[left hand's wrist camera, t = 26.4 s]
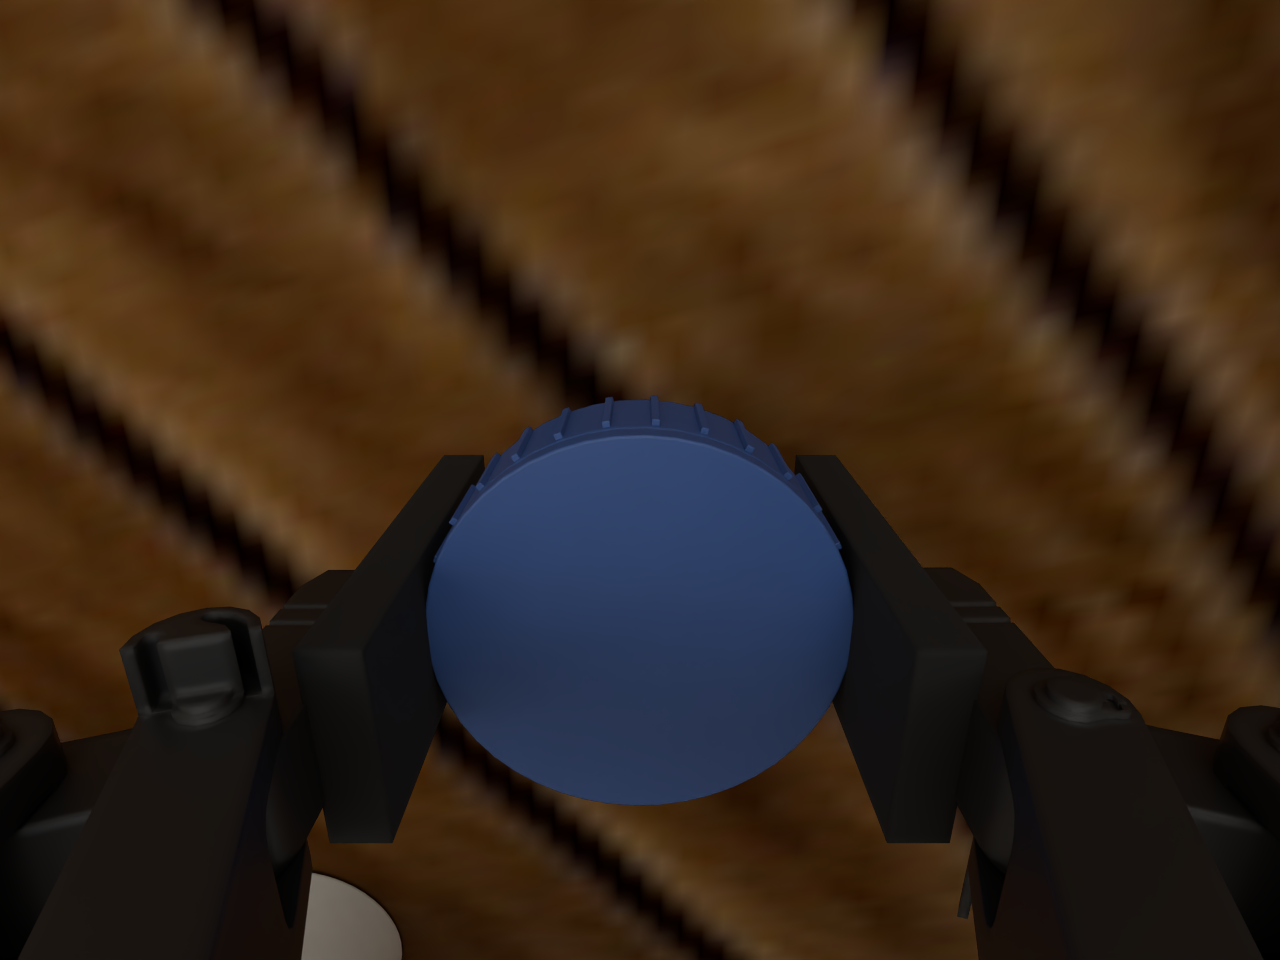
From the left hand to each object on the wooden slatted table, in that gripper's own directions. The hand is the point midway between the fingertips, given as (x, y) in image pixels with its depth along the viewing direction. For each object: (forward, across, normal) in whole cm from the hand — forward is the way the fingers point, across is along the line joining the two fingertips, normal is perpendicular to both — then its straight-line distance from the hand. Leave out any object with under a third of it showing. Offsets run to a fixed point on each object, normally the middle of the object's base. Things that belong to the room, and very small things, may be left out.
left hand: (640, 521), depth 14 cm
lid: (-4, 0, 0) cm, 4 cm away
